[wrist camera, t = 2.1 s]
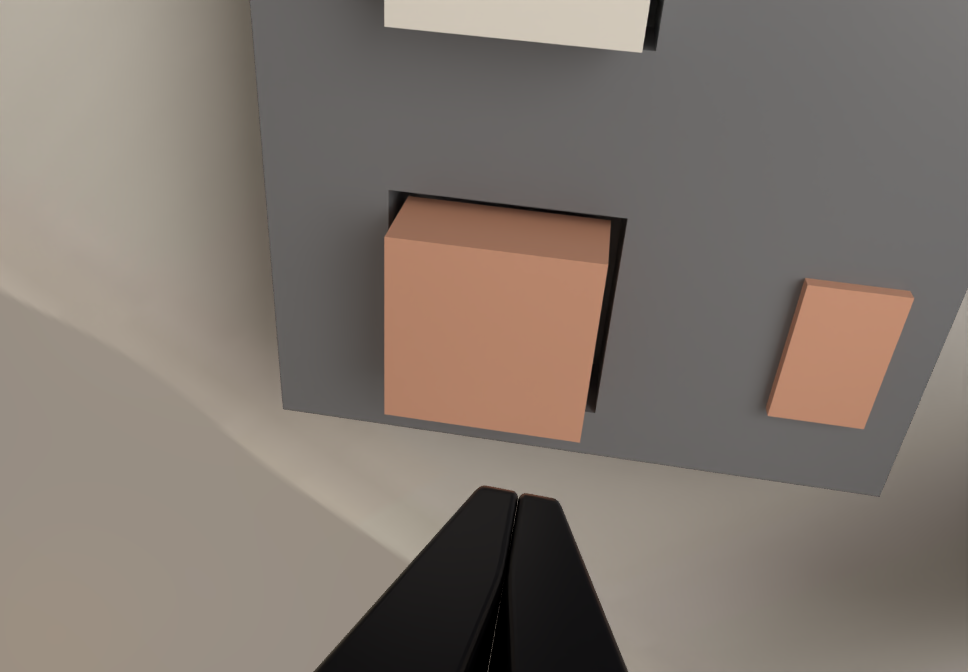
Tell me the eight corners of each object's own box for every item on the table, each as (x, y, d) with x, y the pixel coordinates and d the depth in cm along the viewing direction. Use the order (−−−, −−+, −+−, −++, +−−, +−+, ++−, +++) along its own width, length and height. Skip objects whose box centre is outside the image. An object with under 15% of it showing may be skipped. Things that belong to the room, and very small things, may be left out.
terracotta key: (585, 387, 19) (579, 442, 18) (405, 362, 20) (384, 413, 18) (611, 220, 17) (607, 264, 15) (408, 196, 18) (384, 236, 16)
